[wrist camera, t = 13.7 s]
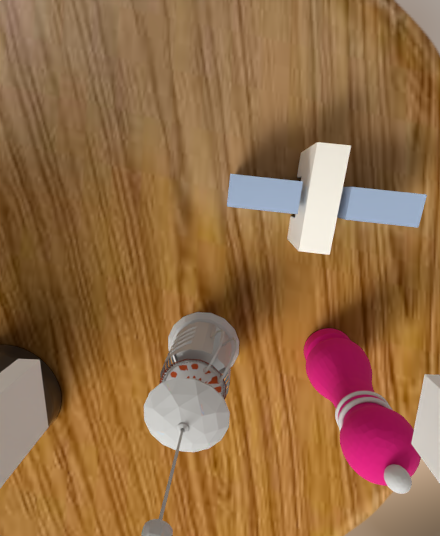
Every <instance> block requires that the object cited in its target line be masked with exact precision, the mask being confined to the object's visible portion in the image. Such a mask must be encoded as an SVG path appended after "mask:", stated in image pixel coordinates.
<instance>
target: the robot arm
mask: <svg viewBox="0 0 440 536" xmlns="http://www.w3.org/2000/svg"><path fill="white" fill-rule="evenodd" d="M60 407H61V391H60V387H59V384H58V381H57V379H56V377H55V375H54V374H53V372H52V371H51V370H50V368H49V367H48V366H47V365H46V364H45V363H44V362H43V361H42V360H41V359H40V358H38V357H37V356H35V355H34V354H32V353H31V352H29V351H27V350H24V349H22V348H19V347H16V346H11V345H0V488H1V487H2V485H3V484H4V483H5V482H6V480H7V479H8V478H9V476H10V475H11V474H12V473H13V471H14V470H15V469H16V468H17V466H18V465H19V464H20V463H21V461H22V460H23V459H24V457H25V456H26V455H27V454H28V452H29V451H30V450H31V449H32V447H33V446H34V445H35V443H36V442H37V441H38V440H39V438H40V437H41V436H42V435H43V433H44V432H45V431H46V430H47V429H48V427H49V426H50V425H51V424H52V422H53V421H54V420H55V419H56V417H57V415H58V413H59V411H60ZM411 444H412V445H413V447H414V448H415V450H416V451H417V452H418V454H419V455H420V457H421V458H422V460H423V461H424V462H425V464H426V465H427V466H428V468H429V469H430V471H431V472H432V474H433V475H434V476H435V478H436V479H437V480H438V482H439V483H440V375H427V374H425V376H424V381H423V386H422V391H421V396H420V401H419V407H418V412H417V417H416V422H415V427H414V432H413V437H412V443H411Z"/></svg>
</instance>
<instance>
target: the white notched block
mask: <svg viewBox="0 0 440 536" xmlns="http://www.w3.org/2000/svg"><path fill="white" fill-rule="evenodd" d="M350 149H351V145H341V144H331V143H321V142H317V143H315V144H314V145H312V146H311V147H309V148H307V149H306V150H304V151H303V152H301V155H300V161H299V167H298V174H297V178H301V181H302V182H303V184H302V190H301V196H300V202H299V209H298V214H295V217H293V216H291V217H290V224H289V230H288V236H287V239H288V240H289V241H290V242H291V244H292V245H293V246H294V247H295V248H296V249H297V250H298V251H302V252H311V253H319V254H328V255H330V251H331V245H332V240H333V235H334V230H335V225H336V220H337V215H338V210H339V205H340V200H341V195H342V190H343V184H344V179H345V174H346V169H347V164H348V159H349V154H350Z"/></svg>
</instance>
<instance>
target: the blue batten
mask: <svg viewBox="0 0 440 536" xmlns="http://www.w3.org/2000/svg"><path fill="white" fill-rule="evenodd" d="M302 184H303V182H302V181H293V180H284V179H274V178H265V177H255V176H246V175H237V174H230V182H229V191H228V201H227V206H228V207H237V208H246V209H255V210H264V211H273V212H282V213H291V214H298V209H299V202H300V196H301V190H302ZM426 196H427V195H425V194H415V193H406V192H397V191H387V190H378V189H368V188H359V187H343V190H342V195H341V200H340V205H339V210H338V215H337V217H338V218H342V219H346V220H355V221H364V222H373V223H382V224H391V225H400V226H409V227H419V223H420V219H421V215H422V211H423V208H424V204H425V200H426Z"/></svg>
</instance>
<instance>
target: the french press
mask: <svg viewBox="0 0 440 536" xmlns="http://www.w3.org/2000/svg"><path fill="white" fill-rule="evenodd" d="M168 347H169V353H168V356H167V357H166V360H165V363H166V367H167V369H166V370H165V363H164V365H163V368H162V371H161V380H160V384H159V385H158V386H157V387H156V388H155V389H153V390H152V391H151V392H150V393H149V396H148V398H147V400H146V402H145V404H144V421H145V423H146V425H147V427H148V429H149V431H150V433H151V434H152V435H153V436H154V437H155V438H156V439H157V440H158V441H159V442H160V443H161V444H163V445H165V446H167V447H170V448H172V449H174V450H176V453H175V457H174V461H173V465H172V469H171V473H170V477H169V481H168V485H167V489H166V492H165V496H164V500H163V504H162V508H161V512H160V516H159V519H153V520H149V521H148V522H146V523H145V525H144V527H143V530H142V536H172V534H173V530H172V528H171V526H170V525H169V524H168V523H167V522H165V521H162V518H163V513H164V509H165V505H166V501H167V497H168V493H169V489H170V485H171V481H172V476H173V472H174V468H175V464H176V460H177V456H178V452H179V451H186V452H197V451H201V450H205V449H209V448H210V447H212V446H213V445H215V444H216V443H217V442H219V441H220V440H222V438H223V436H224V434H225V433H226V431H227V429H228V427H229V414H230V412H229V410H228V407H227V405H226V403H225V398H226V395H227V393H228V388H229V384H228V383H230V367H232V366H233V364H234V362H235V360H236V358H237V356H238V354H239V340H238V337H237V334H236V332H235V329H234V328H233V327H232V326H231V325H230V324H229V323H228V322H227V321H226V320H225V319H224V318H221V317H219V316H217V315H215V314H213V313H203V312H196V313H193V314H190V315H187V316H184V317H183V318H182V319H180V320H179V321H178V322H177V323H176V324H175V325H174V326H173V328H172V330H171V333H170V335H169V337H168ZM170 357H171V360H172V362H173V364H171V361H170ZM168 359H169V365H170V366H169V367H168ZM222 374H223V375H222ZM227 374H228V376H227ZM226 376H227V378H226V380H225V381H224V378H225V377H226ZM228 378H229V380H228ZM227 380H228V382H227V384H225V383H226V381H227ZM227 385H228V388H227V389H226V387H227Z"/></svg>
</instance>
